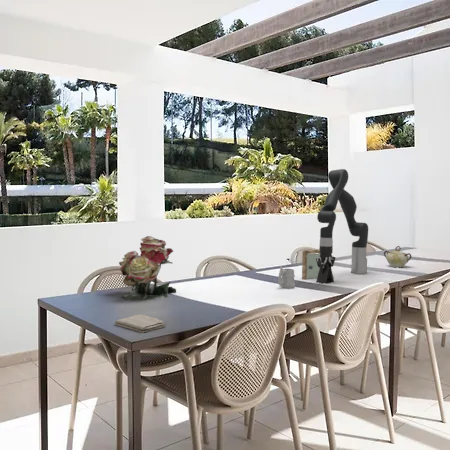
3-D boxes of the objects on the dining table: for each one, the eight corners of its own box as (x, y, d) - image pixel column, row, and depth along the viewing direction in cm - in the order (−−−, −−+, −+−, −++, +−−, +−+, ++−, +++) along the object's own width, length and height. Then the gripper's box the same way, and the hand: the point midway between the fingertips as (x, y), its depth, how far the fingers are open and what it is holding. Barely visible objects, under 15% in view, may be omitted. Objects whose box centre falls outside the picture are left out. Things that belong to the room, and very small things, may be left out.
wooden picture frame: (326, 276, 312) (327, 248, 311) (328, 276, 311) (329, 249, 309) (301, 278, 302) (302, 250, 301) (304, 279, 300) (304, 250, 299)
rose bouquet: (123, 290, 263) (123, 233, 261) (178, 290, 262) (178, 234, 260) (110, 300, 237) (110, 237, 235) (171, 301, 236) (171, 238, 234)
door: (323, 276, 311) (324, 253, 310) (326, 276, 308) (327, 253, 308) (305, 278, 303) (305, 254, 302) (308, 278, 301) (308, 254, 300)
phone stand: (324, 283, 287) (324, 263, 286) (316, 282, 291) (316, 261, 291) (334, 282, 292) (334, 262, 291) (326, 280, 297) (326, 260, 296)
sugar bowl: (414, 267, 356) (415, 246, 355) (407, 269, 345) (408, 248, 344) (387, 264, 369) (388, 244, 368) (379, 266, 357) (380, 245, 356)
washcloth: (144, 334, 183) (144, 326, 182) (113, 326, 194) (113, 318, 194) (167, 328, 192) (167, 320, 192) (136, 320, 203) (136, 312, 203)
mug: (297, 287, 275) (298, 265, 274) (283, 289, 267) (284, 267, 266) (287, 285, 281) (287, 264, 280) (273, 287, 273) (273, 266, 272)
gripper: (330, 244, 297) (329, 272, 298) (312, 245, 290) (311, 274, 291) (339, 245, 291) (338, 274, 292) (321, 246, 283) (320, 276, 285)
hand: (325, 274), depth 291 cm, fingers closed on phone stand, 3 cm apart
